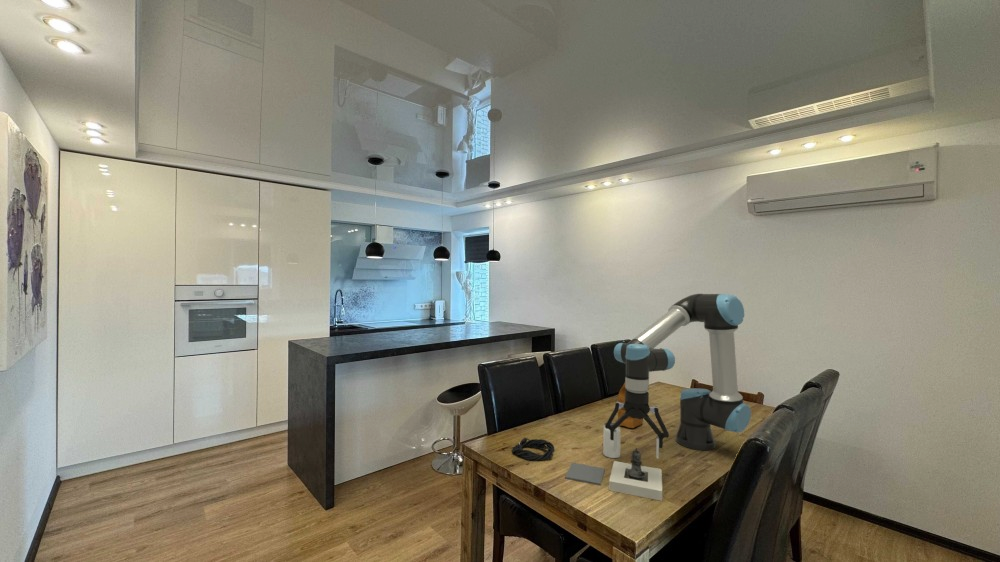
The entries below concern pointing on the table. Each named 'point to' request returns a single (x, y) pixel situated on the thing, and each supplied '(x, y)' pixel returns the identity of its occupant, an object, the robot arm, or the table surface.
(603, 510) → the table surface
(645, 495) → the white square tray
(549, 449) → the cable
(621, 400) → the coffee package
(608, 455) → the can
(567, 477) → the rubber mat
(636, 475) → the grey statuette
